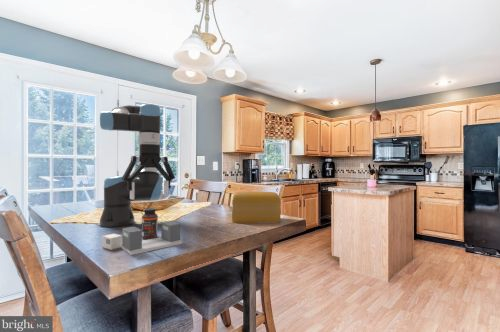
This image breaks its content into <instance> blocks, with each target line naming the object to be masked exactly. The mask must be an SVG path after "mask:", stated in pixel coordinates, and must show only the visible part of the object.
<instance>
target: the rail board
mask: <svg viewBox="0 0 500 332" xmlns="http://www.w3.org/2000/svg"><path fill="white" fill-rule="evenodd" d="M121 230H122V231H121V232H122V234H121V235H122V245H121V247H120V248H121V250H123V251H125V252H126V253H127V254H129V255H130V256H133V255H137V254H142V253H146V252H151V251H155V250H160V249H163V248H168V247H174V246H179V245H183V240H181V223H179V222H175V221H173V220H169V221H162V222H161V232H160V233H161V234H160V235H161V236H159V237H156V238H153V239H143V238H142V229H140V228H138V227H136V226H129V227H123V228H122V229H121Z"/></svg>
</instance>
